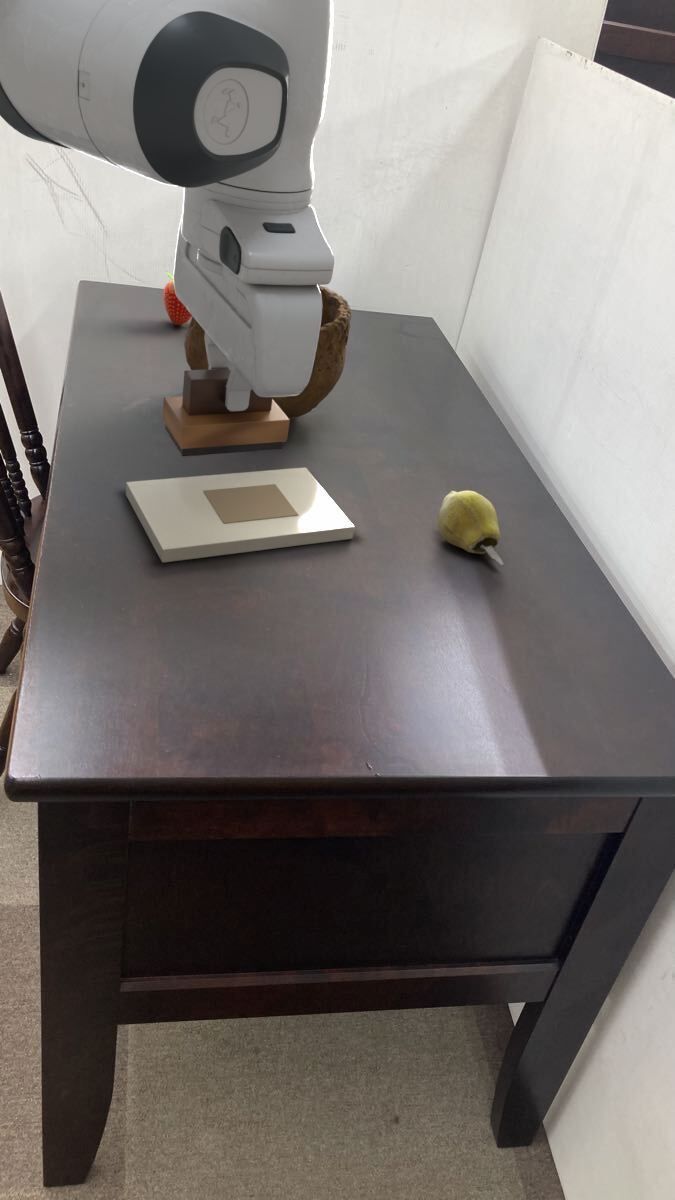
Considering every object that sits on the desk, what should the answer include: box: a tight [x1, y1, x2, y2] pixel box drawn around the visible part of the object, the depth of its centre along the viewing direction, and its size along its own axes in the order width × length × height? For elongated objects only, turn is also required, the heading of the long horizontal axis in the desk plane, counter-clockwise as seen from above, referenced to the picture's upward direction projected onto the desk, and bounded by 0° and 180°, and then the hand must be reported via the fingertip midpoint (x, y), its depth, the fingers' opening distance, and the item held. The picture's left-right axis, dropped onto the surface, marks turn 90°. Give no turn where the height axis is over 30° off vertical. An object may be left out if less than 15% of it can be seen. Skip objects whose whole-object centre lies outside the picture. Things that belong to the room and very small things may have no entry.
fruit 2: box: [436, 490, 504, 567], centre depth 92 cm, size 6×6×10 cm
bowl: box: [183, 285, 352, 420], centre depth 106 cm, size 19×19×15 cm
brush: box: [162, 369, 291, 458], centre depth 72 cm, size 9×5×6 cm, turn 116°
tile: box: [125, 467, 356, 563], centre depth 90 cm, size 20×12×2 cm, turn 116°
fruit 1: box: [162, 271, 193, 326], centre depth 125 cm, size 5×5×8 cm
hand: (227, 398), depth 71 cm, fingers closed on brush
